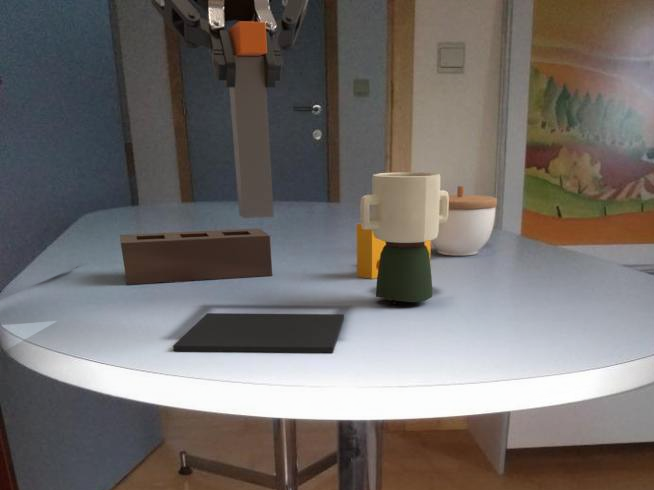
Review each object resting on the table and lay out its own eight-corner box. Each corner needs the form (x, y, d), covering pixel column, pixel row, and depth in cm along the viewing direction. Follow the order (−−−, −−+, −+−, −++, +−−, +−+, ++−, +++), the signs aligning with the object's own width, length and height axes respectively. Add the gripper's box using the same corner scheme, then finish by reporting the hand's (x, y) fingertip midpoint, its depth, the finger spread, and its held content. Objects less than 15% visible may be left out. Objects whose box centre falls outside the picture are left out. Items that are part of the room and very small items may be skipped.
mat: (173, 351, 63) (172, 345, 63) (207, 318, 73) (207, 313, 73) (333, 352, 62) (332, 347, 62) (344, 319, 73) (344, 314, 73)
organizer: (125, 274, 95) (119, 234, 93) (261, 266, 100) (259, 228, 98) (127, 285, 89) (120, 242, 87) (272, 275, 94) (270, 235, 91)
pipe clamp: (405, 262, 102) (406, 214, 99) (430, 266, 99) (431, 216, 96) (347, 274, 94) (346, 222, 91) (371, 278, 91) (372, 225, 88)
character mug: (425, 290, 85) (429, 170, 79) (463, 302, 79) (470, 173, 73) (345, 301, 80) (342, 174, 74) (379, 314, 74) (379, 178, 69)
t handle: (234, 211, 66) (220, 32, 60) (262, 210, 67) (251, 33, 61) (249, 221, 59) (234, 21, 53) (280, 220, 60) (269, 22, 54)
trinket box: (508, 254, 108) (513, 186, 104) (452, 260, 103) (455, 190, 99) (462, 245, 116) (466, 182, 112) (408, 251, 111) (409, 185, 107)
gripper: (127, -134, 56) (157, 33, 51) (301, -120, 60) (345, 38, 55) (135, -38, 63) (162, 117, 58) (290, -31, 67) (329, 116, 62)
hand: (251, 78), depth 57 cm, fingers closed on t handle, 2 cm apart
